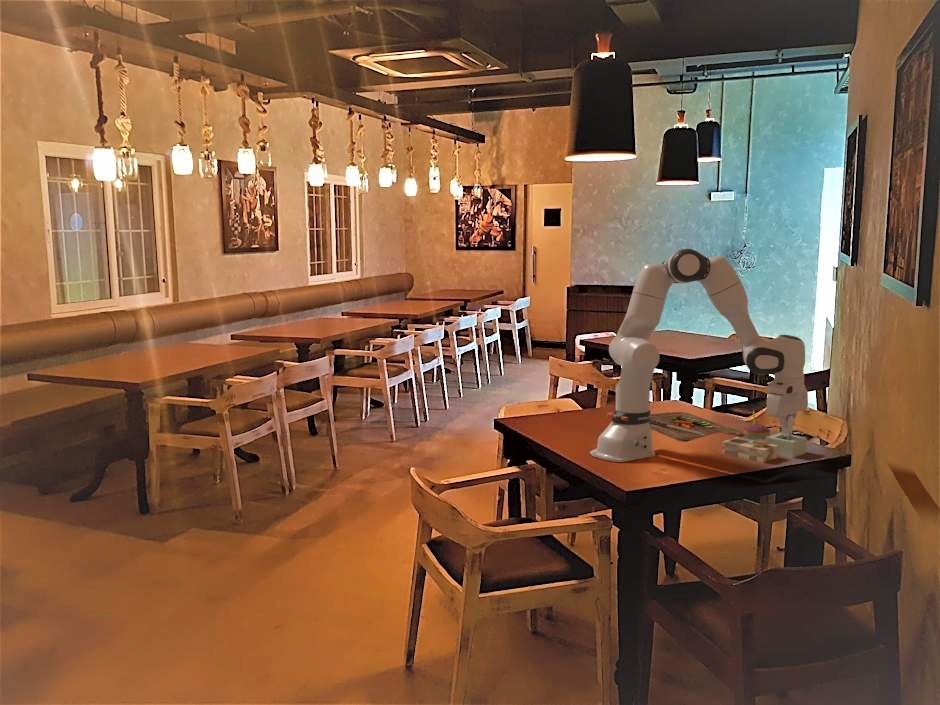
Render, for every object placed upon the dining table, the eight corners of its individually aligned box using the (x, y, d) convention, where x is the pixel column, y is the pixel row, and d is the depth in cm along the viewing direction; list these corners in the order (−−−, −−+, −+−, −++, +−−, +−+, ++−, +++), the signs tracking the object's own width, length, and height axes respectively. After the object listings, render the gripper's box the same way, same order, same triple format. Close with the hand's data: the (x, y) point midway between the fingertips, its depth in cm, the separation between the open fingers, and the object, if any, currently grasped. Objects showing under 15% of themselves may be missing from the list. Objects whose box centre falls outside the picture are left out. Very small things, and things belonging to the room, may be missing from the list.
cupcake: (737, 442, 260) (738, 408, 259) (757, 440, 263) (759, 406, 261) (754, 448, 252) (755, 413, 251) (774, 445, 255) (776, 411, 253)
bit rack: (792, 460, 237) (793, 442, 236) (765, 455, 244) (766, 437, 243) (806, 455, 243) (807, 437, 242) (779, 450, 249) (780, 432, 249)
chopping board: (751, 438, 267) (751, 430, 267) (687, 445, 259) (687, 437, 259) (679, 413, 310) (680, 406, 309) (622, 418, 302) (622, 411, 301)
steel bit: (788, 449, 241) (790, 416, 239) (779, 447, 243) (780, 414, 242) (793, 447, 243) (794, 415, 241) (783, 446, 245) (785, 413, 244)
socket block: (762, 465, 232) (763, 450, 231) (721, 456, 243) (722, 441, 242) (777, 460, 238) (778, 445, 237) (736, 451, 249) (737, 436, 248)
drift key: (762, 461, 235) (762, 443, 234) (751, 459, 237) (752, 441, 237) (768, 459, 237) (769, 441, 236) (758, 456, 240) (759, 439, 239)
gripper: (795, 380, 249) (793, 420, 251) (763, 387, 236) (761, 430, 238) (814, 382, 244) (812, 423, 246) (782, 390, 231) (780, 433, 233)
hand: (787, 426), depth 242 cm, fingers closed on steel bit, 3 cm apart
